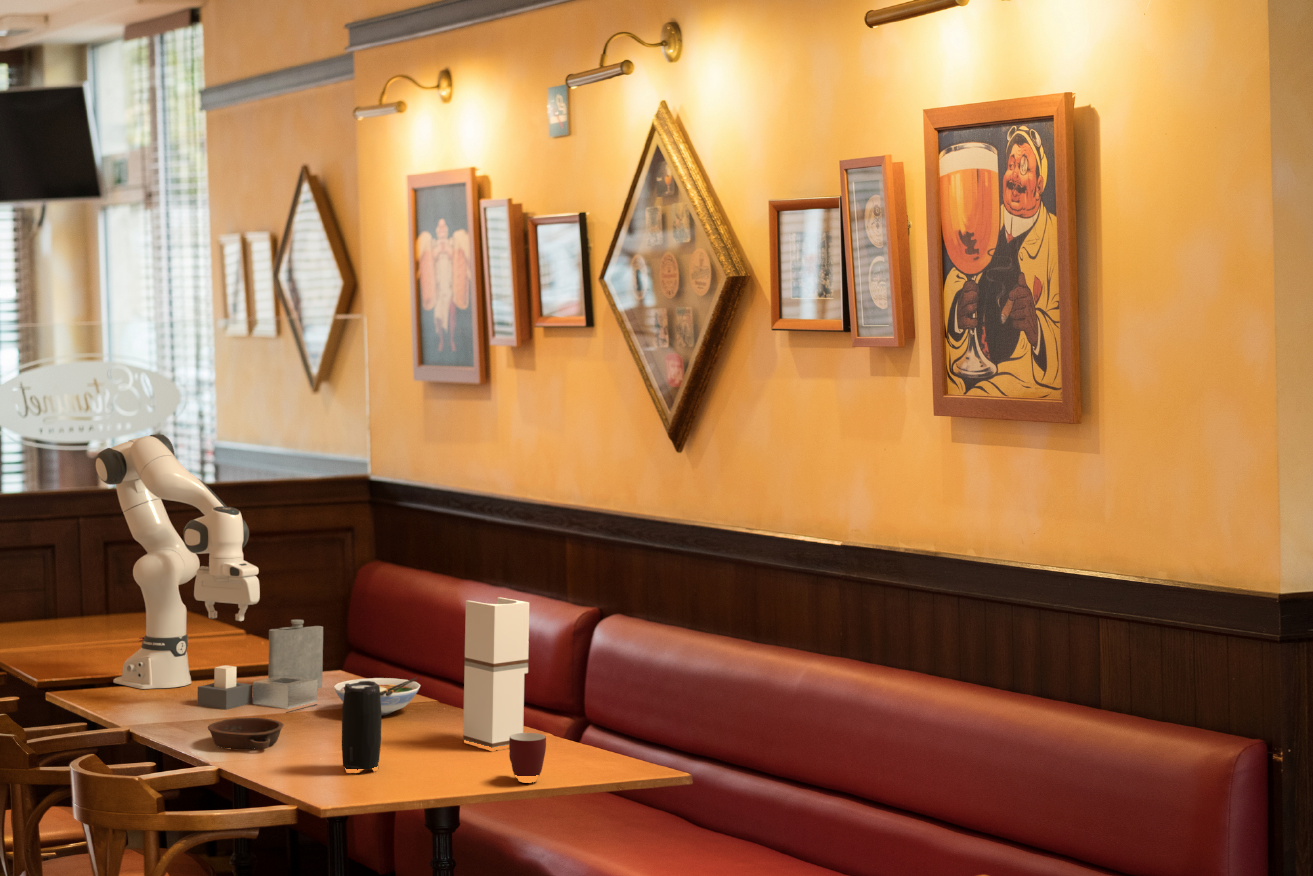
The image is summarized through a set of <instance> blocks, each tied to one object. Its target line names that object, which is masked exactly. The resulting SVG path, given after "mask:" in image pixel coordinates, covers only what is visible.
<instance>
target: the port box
mask: <svg viewBox="0 0 1313 876" xmlns="http://www.w3.org/2000/svg"><path fill="white" fill-rule="evenodd" d="M252 685H253V692H252V705H255V706H260V707H261V706H262V707H268V708H270V707H271V708H276V709H283V710H288V711H286V712H285V713H286V714H287V713H288V714H289V713H291V712H293V713H294V712H297V711H301V710H304V709H308V708H311V707H316V706H318V703H317V702H318V688H317V679H311V678H303V677H295V676H287V675H281V676H276V677H272V678H268V677H267V678H264V679H259V680H256V681H255V680H254V681H253V682H252ZM312 703H315V704H312ZM309 704H311V705H309ZM305 705H308V706H305ZM302 706H303V707H302ZM304 706H305V707H304ZM297 707H301V708H297ZM293 708H296V709H293ZM290 709H293V710H290Z"/></svg>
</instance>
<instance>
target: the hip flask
mask: <svg viewBox="0 0 1313 876" xmlns="http://www.w3.org/2000/svg"><path fill="white" fill-rule="evenodd" d="M290 623H291V626H287V627H286V626H285V627H279V628H271V629H269V630H268V674H267V675H268V677H267V679H268V678H272V677H276V676H281V675H287V676H295V677H303V678H311V679H317V689H321V688H323V670H324V669H323V665H324V662H323V659H324V658H323V657H324V654H323V653H324V652H323V651H324V626H321V625H314V626H304V623H305V621H304V619H291V620H290Z"/></svg>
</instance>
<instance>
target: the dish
mask: <svg viewBox="0 0 1313 876" xmlns="http://www.w3.org/2000/svg"><path fill="white" fill-rule="evenodd" d="M283 727H284V723H282V722H281V721H279V720H276V719H272V718H266V717H265V718H264V717H236V718H228V719H224V720H219V721H215V722H212V723H211V724H209V725H208V726H207V729H208V731H209V732H210V735H211V738H212V740H213V743H214V744H215V746H216V747H218V746H219V747H218V748H221V747H222V748H221V749H225V748H231V749H230V750H233V749H251V750H265V749H268V748H269V747H270V746H273V745H274V744H276V743H277V741H278V739H279V737H280V734H281V730H282V729H283ZM254 748H255V749H254Z"/></svg>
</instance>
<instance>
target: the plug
mask: <svg viewBox="0 0 1313 876" xmlns="http://www.w3.org/2000/svg"><path fill="white" fill-rule="evenodd" d="M237 669H238V668H237V666H233V665H227V664H225V665H220V666H216V667H214V677H213V678H214V680H213V681H214V682H213V683H214V687H217V688H225V689H227V688H231V687H235V686H236V682H237Z"/></svg>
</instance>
